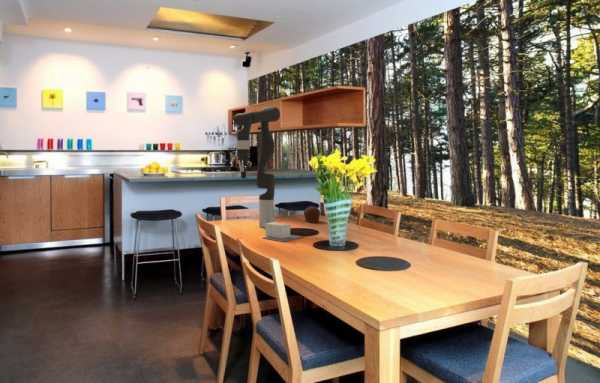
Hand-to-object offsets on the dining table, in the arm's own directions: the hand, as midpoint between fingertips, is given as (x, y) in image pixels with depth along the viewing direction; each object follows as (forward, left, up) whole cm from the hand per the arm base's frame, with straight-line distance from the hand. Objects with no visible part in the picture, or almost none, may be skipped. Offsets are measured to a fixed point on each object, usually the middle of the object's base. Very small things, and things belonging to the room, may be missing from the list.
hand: (243, 178), depth 281 cm
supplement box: (-2, +19, -28) cm, 33 cm away
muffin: (-59, +5, -32) cm, 67 cm away
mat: (-3, +28, -32) cm, 43 cm away
